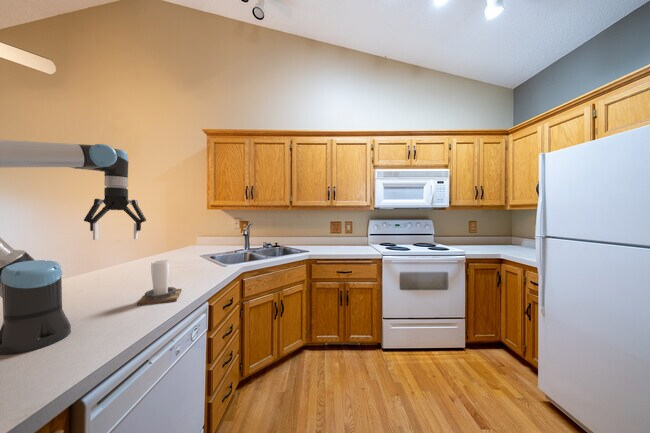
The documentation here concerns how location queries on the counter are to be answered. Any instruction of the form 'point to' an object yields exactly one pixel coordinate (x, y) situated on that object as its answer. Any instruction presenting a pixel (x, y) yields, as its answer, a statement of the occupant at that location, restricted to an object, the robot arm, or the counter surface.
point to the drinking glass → (160, 276)
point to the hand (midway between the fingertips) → (116, 239)
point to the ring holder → (159, 297)
